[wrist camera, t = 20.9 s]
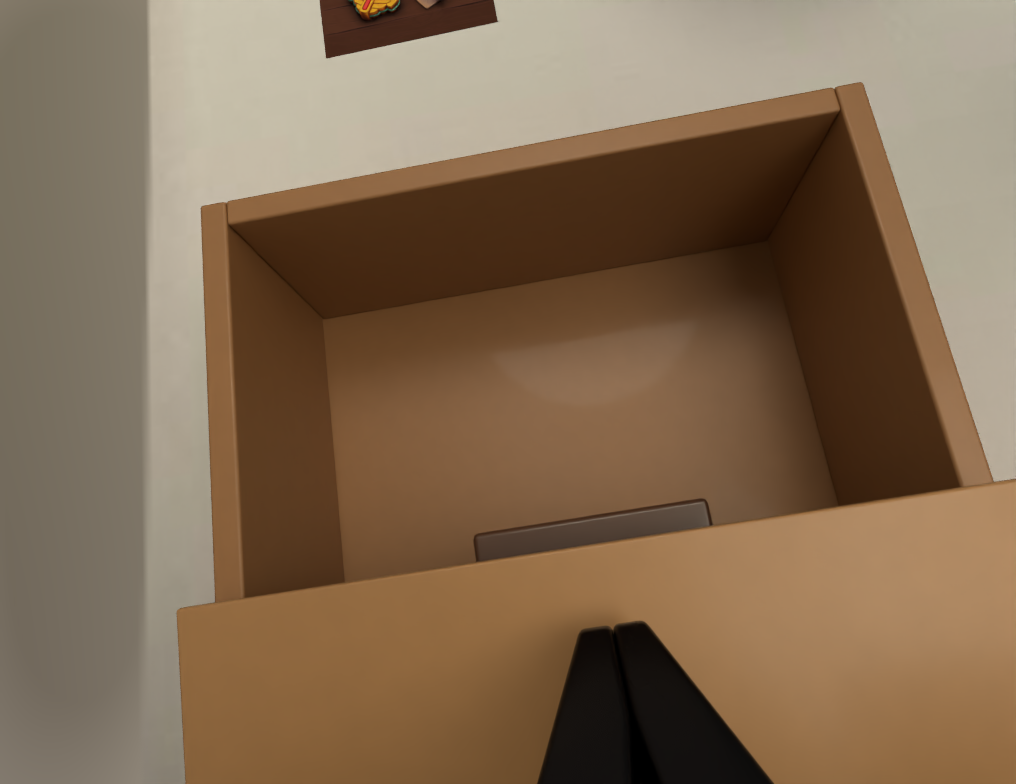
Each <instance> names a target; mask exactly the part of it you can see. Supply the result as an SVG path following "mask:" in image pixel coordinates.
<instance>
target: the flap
mask: <svg viewBox="0 0 1016 784" xmlns="http://www.w3.org/2000/svg"><path fill="white" fill-rule="evenodd" d="M639 620H640V621H644V622H646V623H647V624H648V625H649V626H650V627H651V629H652V630H653V631H654V632H655V634H656V635H657V636H658V637H659V639H660V640H661V641H662V643H663V644H664V645H665V646H666V648H667V649H668V650H669V651H670V653H671V654H672V655H673V656H674V658H675V659H676V660H677V661H678V663H679V664H680V665H681V666H682V668H683V669H684V670H685V672H686V673H687V674H688V675H689V677H690V678H691V679H692V680H693V682H694V683H695V684H696V685H697V687H698V688H699V689H700V690H701V692H702V693H703V694H704V696H705V697H706V698H707V699H708V701H709V702H710V703H711V704H712V706H713V707H714V708H715V709H716V711H717V712H718V713H719V714H720V716H721V717H722V718H723V719H724V721H725V722H726V723H727V725H728V726H729V727H730V728H731V730H732V731H733V732H734V733H735V735H736V736H737V737H738V738H739V740H740V741H741V742H742V743H743V745H744V746H745V747H746V749H747V750H748V751H749V752H750V754H751V755H752V756H753V757H754V759H755V760H756V761H757V762H758V764H759V765H760V766H761V767H762V769H763V770H764V771H765V772H766V774H767V775H768V776H769V778H770V779H771V780H772V781H773V783H774V784H1016V479H1011V480H1004V481H998V482H991V483H985V484H978V485H972V486H965V487H959V488H952V489H946V490H939V491H933V492H926V493H920V494H914V495H907V496H901V497H894V498H888V499H881V500H875V501H868V502H862V503H855V504H849V505H842V506H836V507H829V508H823V509H817V510H810V511H804V512H797V513H791V514H784V515H778V516H771V517H765V518H758V519H752V520H745V521H739V522H732V523H726V524H719V525H713V526H707V527H700V528H694V529H687V530H681V531H674V532H668V533H661V534H655V535H648V536H642V537H635V538H629V539H622V540H616V541H610V542H603V543H597V544H590V545H584V546H577V547H571V548H564V549H558V550H551V551H545V552H538V553H532V554H525V555H519V556H512V557H506V558H500V559H493V560H487V561H480V562H474V563H467V564H461V565H454V566H448V567H441V568H435V569H428V570H422V571H415V572H409V573H403V574H396V575H390V576H383V577H377V578H370V579H364V580H357V581H351V582H344V583H338V584H331V585H325V586H318V587H312V588H305V589H299V590H293V591H286V592H280V593H273V594H267V595H260V596H254V597H247V598H241V599H234V600H228V601H221V602H215V603H208V604H202V605H196V606H190V607H184V608H180V609H178V610H177V628H178V647H179V666H180V685H181V704H182V723H183V742H184V761H185V780H186V784H537V782H538V778H539V774H540V771H541V767H542V763H543V760H544V756H545V753H546V749H547V745H548V742H549V738H550V734H551V731H552V727H553V724H554V720H555V716H556V713H557V709H558V705H559V702H560V698H561V695H562V691H563V687H564V684H565V680H566V676H567V673H568V669H569V666H570V662H571V658H572V655H573V651H574V647H575V644H576V640H577V637H578V634H579V632H580V631H581V630H582V629H585V628H591V627H598V626H605V625H606V626H610V627H611V628H612V630H613V628H614V626H615V625H616V624H618V623H625V622H632V621H639Z"/></svg>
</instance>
